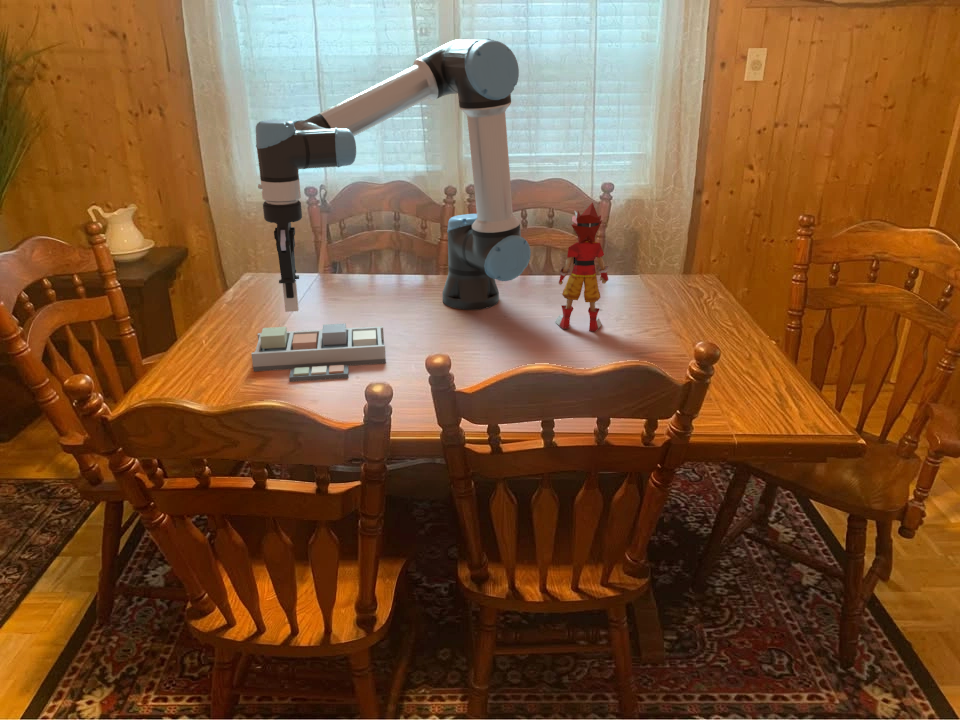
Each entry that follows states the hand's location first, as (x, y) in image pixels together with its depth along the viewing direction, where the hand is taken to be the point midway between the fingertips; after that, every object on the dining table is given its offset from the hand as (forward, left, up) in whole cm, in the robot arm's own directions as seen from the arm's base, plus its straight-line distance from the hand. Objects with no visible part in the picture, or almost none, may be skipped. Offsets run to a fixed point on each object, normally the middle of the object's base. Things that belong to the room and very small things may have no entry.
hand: (292, 310), depth 158 cm
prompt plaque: (-5, +10, -11) cm, 16 cm away
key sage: (+5, 0, -8) cm, 9 cm away
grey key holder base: (-5, 0, -11) cm, 13 cm away
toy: (-67, -9, -12) cm, 69 cm away
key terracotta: (-2, 0, -10) cm, 10 cm away
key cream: (-15, 0, -10) cm, 18 cm away
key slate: (-8, 0, -8) cm, 11 cm away
